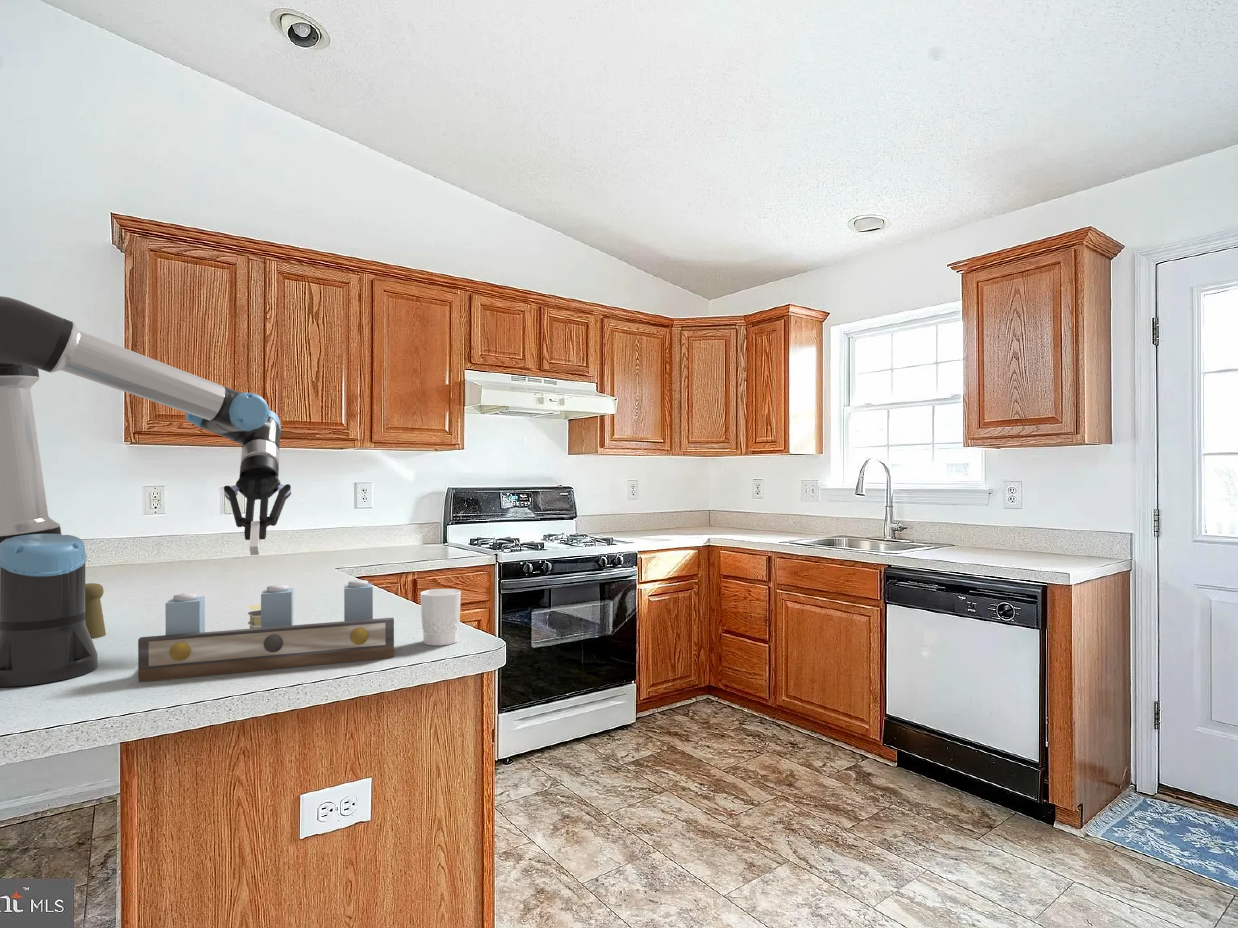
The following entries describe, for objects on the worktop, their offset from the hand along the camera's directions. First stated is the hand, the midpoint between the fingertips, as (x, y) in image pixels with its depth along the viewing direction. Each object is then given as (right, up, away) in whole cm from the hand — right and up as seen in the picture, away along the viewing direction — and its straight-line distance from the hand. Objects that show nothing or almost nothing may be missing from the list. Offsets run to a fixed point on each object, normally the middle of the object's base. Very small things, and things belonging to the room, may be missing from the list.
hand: (254, 550), depth 141 cm
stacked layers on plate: (-5, -19, +13) cm, 24 cm away
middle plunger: (+9, -16, -9) cm, 21 cm away
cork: (-39, -19, +9) cm, 44 cm away
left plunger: (-3, -16, -18) cm, 24 cm away
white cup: (+36, -19, +2) cm, 41 cm away
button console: (+9, -19, -10) cm, 23 cm away
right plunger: (+22, -16, -4) cm, 28 cm away
